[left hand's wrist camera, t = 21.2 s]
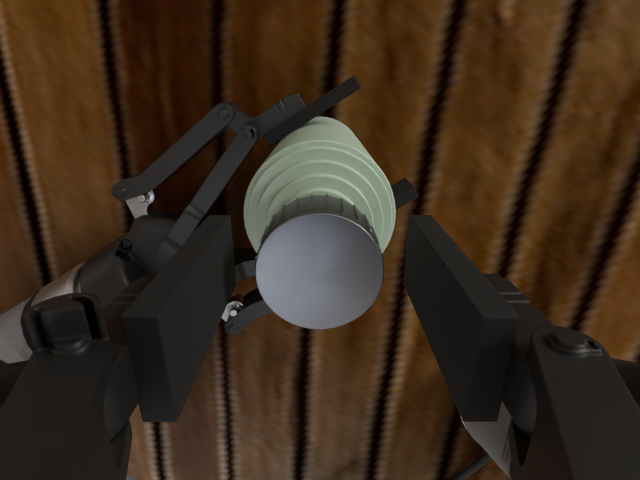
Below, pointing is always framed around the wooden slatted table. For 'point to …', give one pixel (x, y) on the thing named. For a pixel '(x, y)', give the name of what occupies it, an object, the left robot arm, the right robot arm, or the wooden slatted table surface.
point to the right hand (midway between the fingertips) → (384, 137)
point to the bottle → (319, 178)
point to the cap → (319, 263)
